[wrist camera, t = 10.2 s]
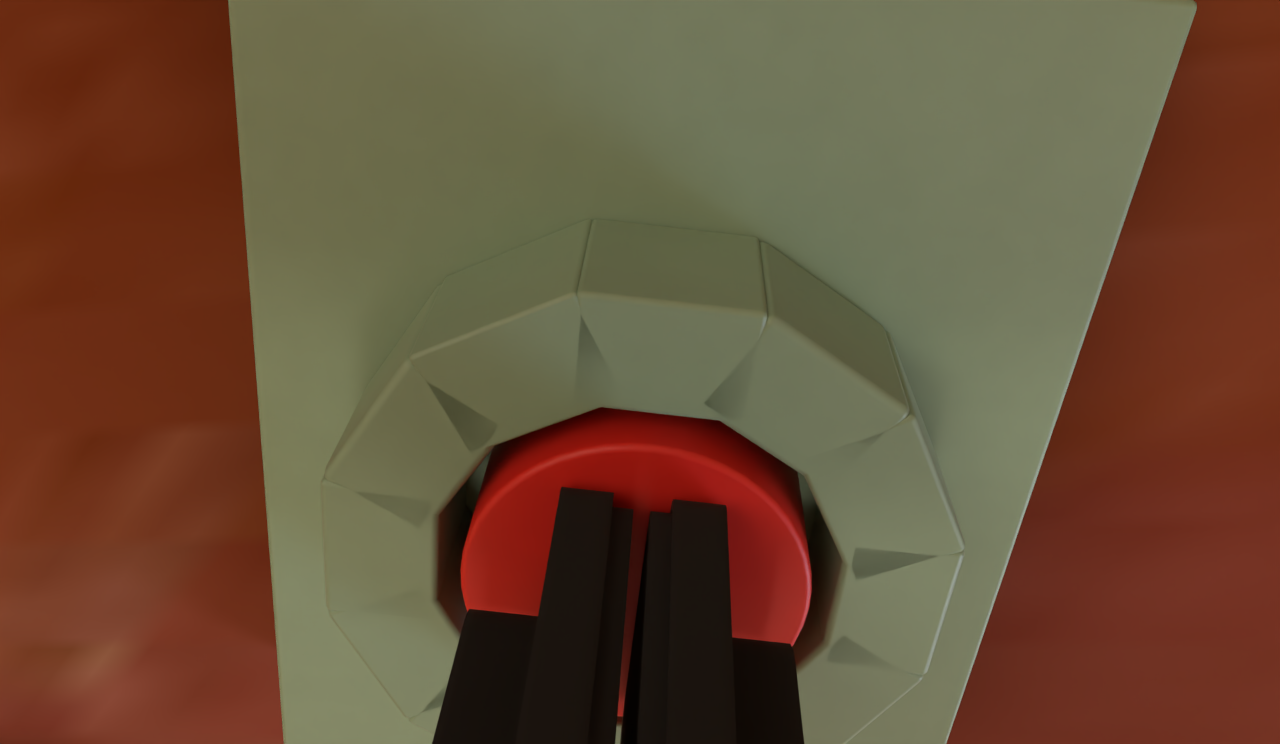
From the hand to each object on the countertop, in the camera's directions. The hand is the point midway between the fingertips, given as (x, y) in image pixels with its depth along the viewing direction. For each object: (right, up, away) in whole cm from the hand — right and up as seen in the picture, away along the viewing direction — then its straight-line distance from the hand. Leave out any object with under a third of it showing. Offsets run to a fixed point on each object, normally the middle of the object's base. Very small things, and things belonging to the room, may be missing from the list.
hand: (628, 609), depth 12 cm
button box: (0, +2, +4) cm, 4 cm away
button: (0, +1, +1) cm, 2 cm away
